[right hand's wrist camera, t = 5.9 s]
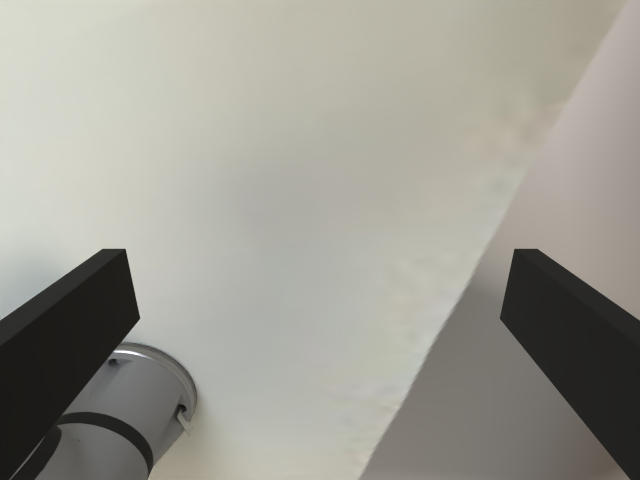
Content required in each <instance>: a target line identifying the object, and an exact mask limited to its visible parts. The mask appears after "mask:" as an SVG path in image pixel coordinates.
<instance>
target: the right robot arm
mask: <svg viewBox="0 0 640 480" xmlns="http://www.w3.org/2000/svg"><path fill="white" fill-rule="evenodd" d="M139 319H140V316H139V311H138V306H137V301H136V297H135V292H134V287H133V282H132V278H131V273H130V268H129V263H128V259H127V254H126V249H102V250H100V251H99V252H98V253H96V254H95V255H93V256H92V257H90V258H89V259H88V260H86V261H85V262H83V263H82V264H80V265H79V266H78V267H76V268H75V269H73V270H72V271H71V272H69V273H68V274H66V275H65V276H63V277H62V278H61V279H59V280H58V281H56V282H55V283H53V284H52V285H51V286H49V287H48V288H46V289H45V290H43V291H42V292H41V293H39V294H38V295H36V296H35V297H33V298H32V299H31V300H29V301H28V302H26V303H25V304H23V305H22V306H21V307H19V308H18V309H16V310H15V311H13V312H12V313H11V314H9V315H8V316H6V317H5V318H3V319H2V320H1V321H0V480H147V479H148V477H149V475H150V472H151V470H152V468H153V466H154V465H155V464H156V463H157V461H158V460H159V459H160V458H161V457H162V456H163V455H164V453H165V452H166V451H167V450H168V449H169V448H170V447H171V446H172V444H173V443H174V442H175V441H176V440H177V439H178V438H179V436H180V435H181V434H182V433H183V432H184V430H186V432H187V433H188V435H189V437H190V434H191V431H192V429H193V427H192V426H191V424H190V423H189V422H190V420H191V417H192V415H193V412H194V409H195V406H196V391H195V387H194V384H193V382H192V380H191V378H190V376H189V375H188V373H187V372H186V371H185V370H184V368H183V367H182V366H181V365H180V364H179V363H177V362H176V361H175V360H174V359H172V358H171V357H169V356H168V355H166V354H164V353H163V352H161V351H159V350H156V349H154V348H151V347H148V346H144V345H140V344H134V343H121V342H122V340H123V339H124V338H125V337H126V335H127V334H128V333H129V332H130V330H131V329H132V328H133V327H134V326H135V324H136V323H137V322H138V321H139ZM500 319H501V321H502V322H503V323H504V324H505V326H506V327H507V328H508V329H509V330H510V332H511V333H512V334H513V335H514V336H515V338H516V339H517V340H518V342H519V343H520V344H521V345H522V346H523V348H524V349H525V350H526V351H527V353H528V354H529V355H530V356H531V358H532V359H533V360H534V361H535V363H536V364H537V365H538V366H539V367H540V369H541V370H542V371H543V372H544V374H545V375H546V376H547V377H548V378H549V380H550V381H551V382H552V383H553V385H554V386H555V387H556V388H557V390H558V391H559V392H560V393H561V395H562V396H563V397H564V398H565V399H566V401H567V402H568V403H569V404H570V406H571V407H572V408H573V409H574V411H575V412H576V413H577V414H578V416H579V417H580V418H581V419H582V420H583V422H584V423H585V424H586V425H587V427H588V428H589V429H590V430H591V432H592V433H593V434H594V435H595V437H596V438H597V439H598V440H599V441H600V443H601V444H602V445H603V446H604V448H605V449H606V450H607V451H608V453H609V454H610V455H611V456H612V457H613V459H614V460H615V461H616V462H617V464H618V465H619V466H620V467H621V469H622V470H623V471H624V472H625V474H626V475H627V476H628V477H629V478H630V480H640V321H639V320H638V319H637V318H635V317H634V316H632V315H631V314H629V313H628V312H627V311H625V310H624V309H622V308H621V307H619V306H618V305H617V304H615V303H614V302H612V301H611V300H609V299H608V298H607V297H605V296H604V295H602V294H601V293H599V292H598V291H597V290H595V289H594V288H592V287H591V286H589V285H588V284H587V283H585V282H584V281H582V280H581V279H579V278H578V277H577V276H575V275H574V274H572V273H571V272H569V271H568V270H567V269H565V268H564V267H562V266H561V265H559V264H558V263H557V262H555V261H554V260H552V259H551V258H550V257H548V256H547V255H545V254H544V253H542V252H541V251H539V250H538V249H514V254H513V259H512V263H511V268H510V273H509V278H508V282H507V287H506V292H505V297H504V301H503V306H502V311H501V316H500Z"/></svg>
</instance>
